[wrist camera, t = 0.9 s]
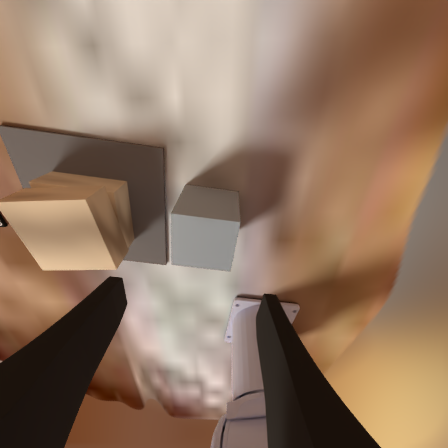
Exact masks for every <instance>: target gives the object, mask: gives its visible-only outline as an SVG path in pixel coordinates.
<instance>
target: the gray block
mask: <svg viewBox="0 0 448 448" xmlns="http://www.w3.org/2000/svg"><path fill="white" fill-rule="evenodd" d="M239 227H240V208H239V193H238V191H231V190H223V189H216V188H208V187H201V186H193V185H185V187H184V189H183V191H182V193H181V195H180V197H179V199H178V201H177V203H176V205H175V207H174V209H173V211H172V212H171V261H172V265H178V266H187V267H195V268H204V269H213V270H221V271H231V266H232V261H233V257H234V252H235V247H236V242H237V237H238V232H239Z"/></svg>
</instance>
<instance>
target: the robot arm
mask: <svg viewBox="0 0 448 448" xmlns="http://www.w3.org/2000/svg"><path fill="white" fill-rule="evenodd" d="M126 306H127V299H126V294H125V289H124V284H123V279H122V278H119V277H109V278H107V279H106V280H105V281H104V282H103V283H102V284H101V285H99V286H98V287H97V288H96V289H95V290H94V291H93V292H92V293H90V294H89V295H88V296H87V297H86V298H85V299H84V300H82V301H81V302H80V303H79V304H78V305H77V306H75V307H74V308H73V309H72V310H71V311H69V312H68V313H67V314H66V315H65V316H63V317H62V318H61V319H60V320H58V321H57V322H56V323H55V324H53V325H52V326H51V327H50V328H48V329H47V330H46V331H45V332H43V333H42V334H41V335H39V336H38V337H37V338H35V339H34V340H33V341H31V342H30V343H29V344H27V345H26V346H24V347H23V348H22V349H20V350H19V351H17V352H16V353H14V354H13V355H12V356H10V357H9V358H7V359H6V360H4V361H3V362H1V363H0V448H64V447H65V444H66V441H67V439H68V436H69V433H70V431H71V428H72V426H73V423H74V421H75V418H76V416H77V413H78V411H79V408H80V406H81V403H82V401H83V399H84V396H85V394H86V391H87V389H88V386H89V384H90V382H91V380H92V378H93V376H94V373H95V371H96V370H97V368H98V366H99V364H100V362H101V360H102V358H103V356H104V354H105V352H106V350H107V348H108V346H109V344H110V342H111V340H112V338H113V336H114V334H115V332H116V330H117V328H118V326H119V324H120V322H121V319H122V317H123V314H124V312H125V309H126ZM299 310H300V307H299V305H298V304H293V303H284V302H280V301H279V299H278V297H277V296H276V295H272V294H264V295H263V298H262V300H256V299H247V298H235V299H234V301H233V306H232V310H231V314H230V318H229V322H228V326H227V330H226V334H225V342H227V343H232V395H233V401H231V402H227V414H225V415H223V416H222V417H221V418H220V420H219V422H218V424H217V426H216V428H215V431H214V434H213V438H212V443H211V448H381V447H380V446H379V445H378V444H377V443H376V441H375V440H374V439H373V438H372V437H371V436H370V435H369V433H368V432H367V431H366V430H365V428H364V427H363V426H362V425H361V423H360V422H359V421H358V420H357V419H356V417H355V416H354V415H353V414H352V413H351V412H350V410H349V409H348V408H347V406H346V405H345V404H344V403H343V401H342V400H341V399H340V397H339V396H338V395H337V393H336V392H335V391H334V389H333V388H332V387H331V385H330V384H329V382H328V381H327V380H326V378H325V377H324V375H323V374H322V373H321V371H320V370H319V368H318V367H317V365H316V364H315V362H314V361H313V359H312V358H311V356H310V354H309V353H308V351H307V350H306V348H305V347H304V345H303V343H302V342H301V340H300V338H299V336H298V335H297V333H296V331H295V330H294V328H293V326H292V323H293V321H294V319H295V317H296V315H297V313H298V311H299Z"/></svg>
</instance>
